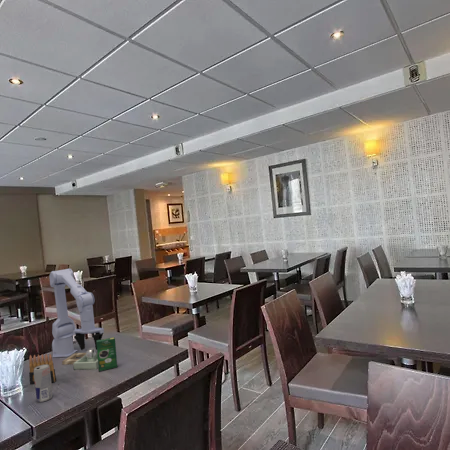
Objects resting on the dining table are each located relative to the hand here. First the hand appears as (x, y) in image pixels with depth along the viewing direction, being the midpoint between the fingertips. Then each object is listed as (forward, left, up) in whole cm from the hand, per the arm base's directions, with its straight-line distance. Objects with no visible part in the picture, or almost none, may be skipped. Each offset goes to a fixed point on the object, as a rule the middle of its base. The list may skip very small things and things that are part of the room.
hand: (90, 349), depth 155 cm
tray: (0, 0, -7) cm, 7 cm away
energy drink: (-1, -30, -7) cm, 31 cm away
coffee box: (+11, -5, -7) cm, 14 cm away
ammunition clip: (-12, -17, -7) cm, 22 cm away
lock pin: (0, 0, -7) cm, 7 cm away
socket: (-11, +6, -7) cm, 14 cm away
